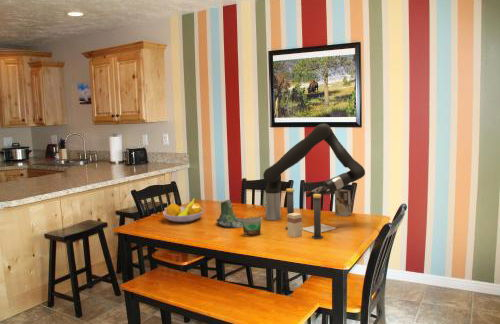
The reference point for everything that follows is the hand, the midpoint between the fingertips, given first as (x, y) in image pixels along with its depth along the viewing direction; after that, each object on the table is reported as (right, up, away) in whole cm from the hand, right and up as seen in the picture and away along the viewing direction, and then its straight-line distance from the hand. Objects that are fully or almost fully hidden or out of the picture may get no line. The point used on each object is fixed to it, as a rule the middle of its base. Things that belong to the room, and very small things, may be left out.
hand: (309, 196), depth 236 cm
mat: (+6, -19, +5) cm, 21 cm away
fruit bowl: (-76, -18, +36) cm, 86 cm away
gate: (-3, -20, -2) cm, 21 cm away
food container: (-32, -22, -3) cm, 38 cm away
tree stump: (-44, -19, +21) cm, 52 cm away
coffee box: (+27, -15, +36) cm, 47 cm away
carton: (-9, -21, -6) cm, 23 cm away
